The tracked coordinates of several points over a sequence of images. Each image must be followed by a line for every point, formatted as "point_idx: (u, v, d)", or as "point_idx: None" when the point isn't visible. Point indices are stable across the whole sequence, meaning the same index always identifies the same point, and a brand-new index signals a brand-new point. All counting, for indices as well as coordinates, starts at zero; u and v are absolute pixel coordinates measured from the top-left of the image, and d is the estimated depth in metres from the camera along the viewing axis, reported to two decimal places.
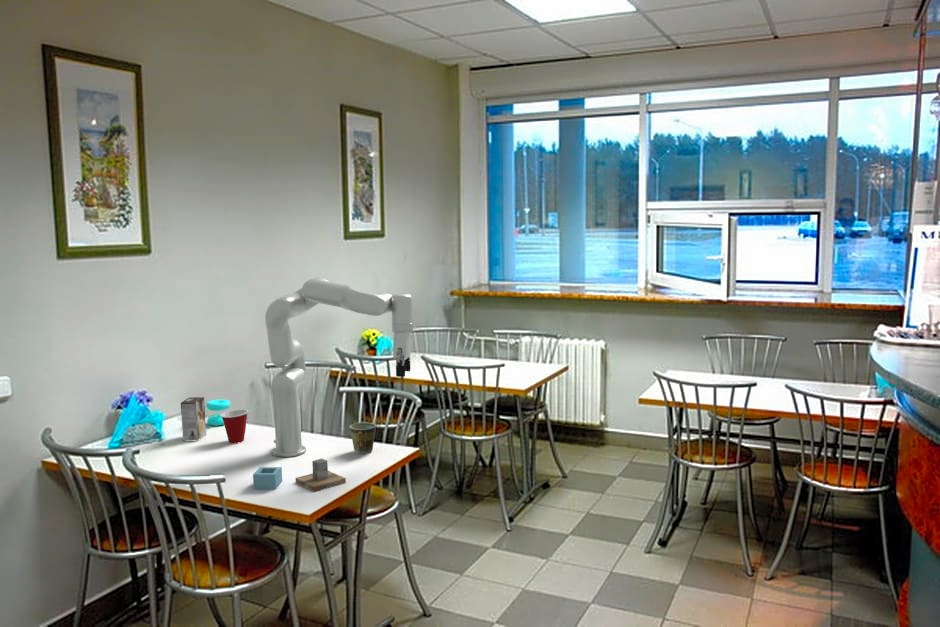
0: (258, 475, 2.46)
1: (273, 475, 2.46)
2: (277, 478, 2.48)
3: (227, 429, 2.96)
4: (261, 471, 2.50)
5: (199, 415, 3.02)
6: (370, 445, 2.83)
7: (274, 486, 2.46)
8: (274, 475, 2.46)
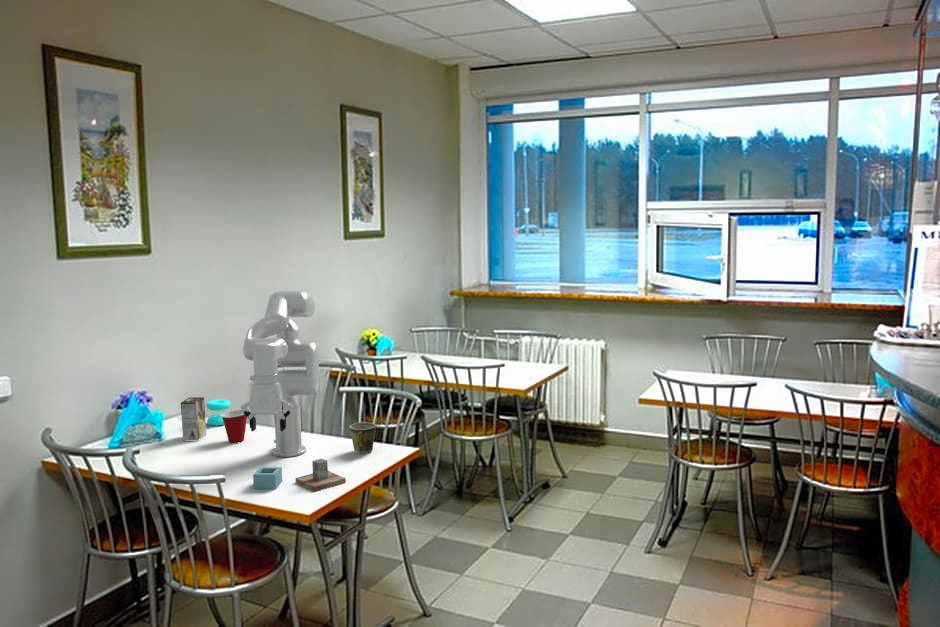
0: (258, 475, 2.46)
1: (273, 475, 2.46)
2: (277, 478, 2.48)
3: (227, 429, 2.96)
4: (261, 471, 2.50)
5: (199, 415, 3.02)
6: (370, 445, 2.83)
7: (274, 486, 2.46)
8: (274, 475, 2.46)
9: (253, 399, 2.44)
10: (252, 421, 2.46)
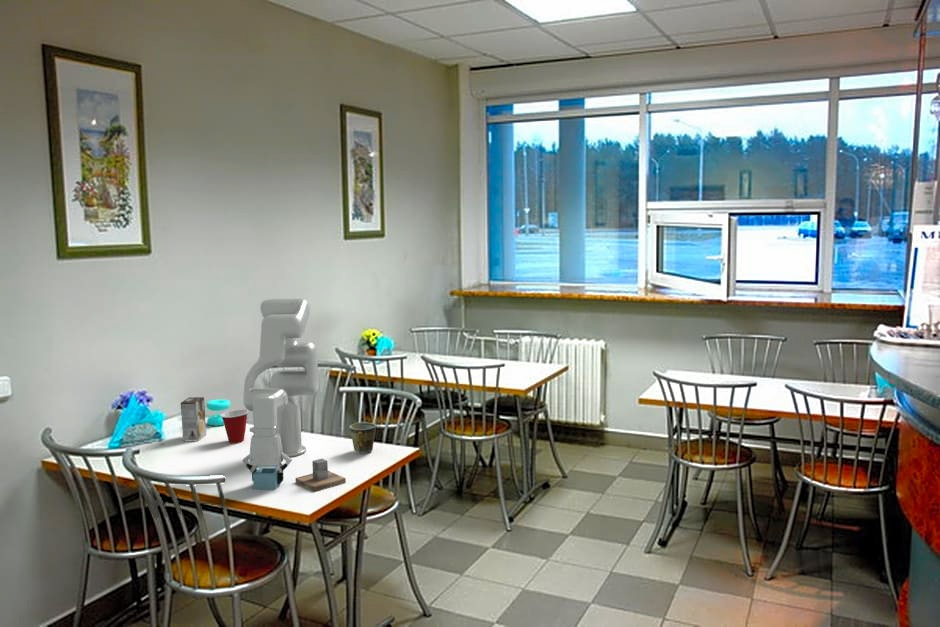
0: (258, 475, 2.46)
1: (273, 475, 2.45)
2: None
3: (227, 429, 2.96)
4: (261, 471, 2.50)
5: (199, 414, 3.02)
6: (370, 445, 2.83)
7: (274, 486, 2.46)
8: (274, 475, 2.46)
9: (253, 451, 2.46)
10: None
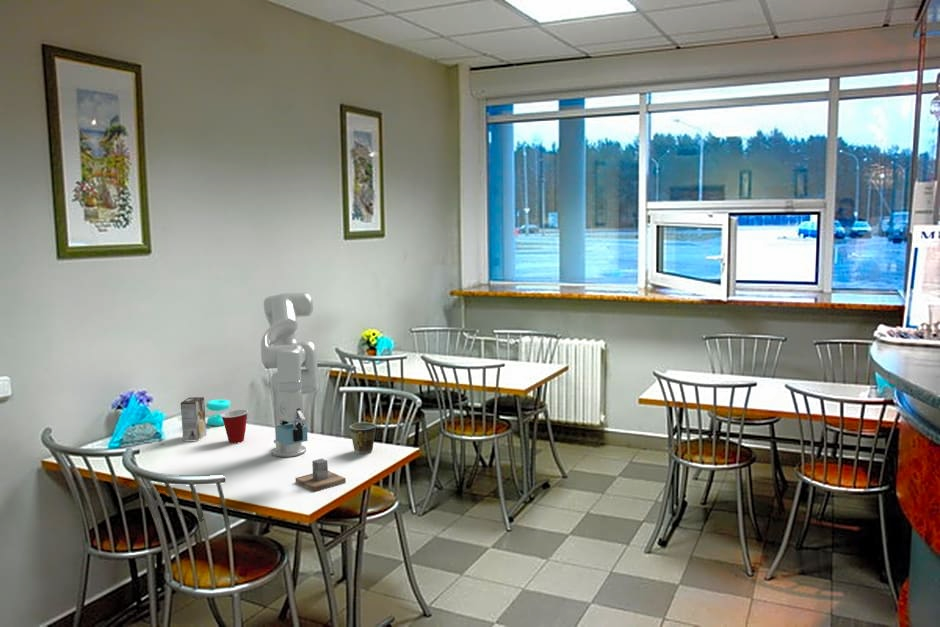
0: (278, 428, 2.47)
1: (286, 431, 2.44)
2: None
3: (227, 429, 2.96)
4: (290, 425, 2.51)
5: (199, 415, 3.02)
6: (370, 445, 2.83)
7: (286, 442, 2.44)
8: (286, 431, 2.44)
9: (277, 403, 2.48)
10: None
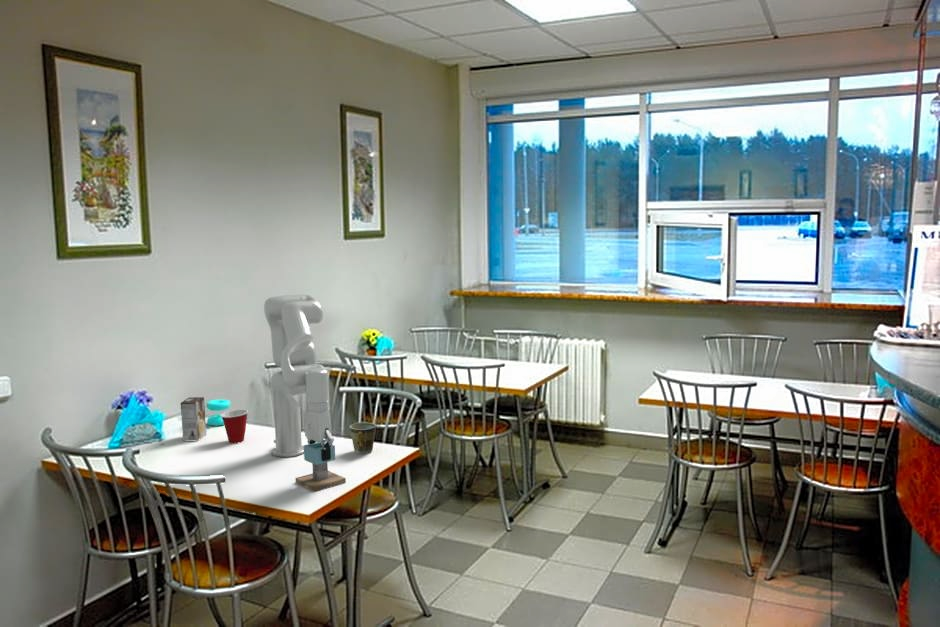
0: (306, 447, 2.49)
1: (314, 450, 2.46)
2: (321, 455, 2.47)
3: (227, 429, 2.96)
4: (318, 445, 2.53)
5: (199, 415, 3.02)
6: (370, 445, 2.83)
7: (315, 461, 2.46)
8: (315, 451, 2.46)
9: (305, 423, 2.50)
10: None
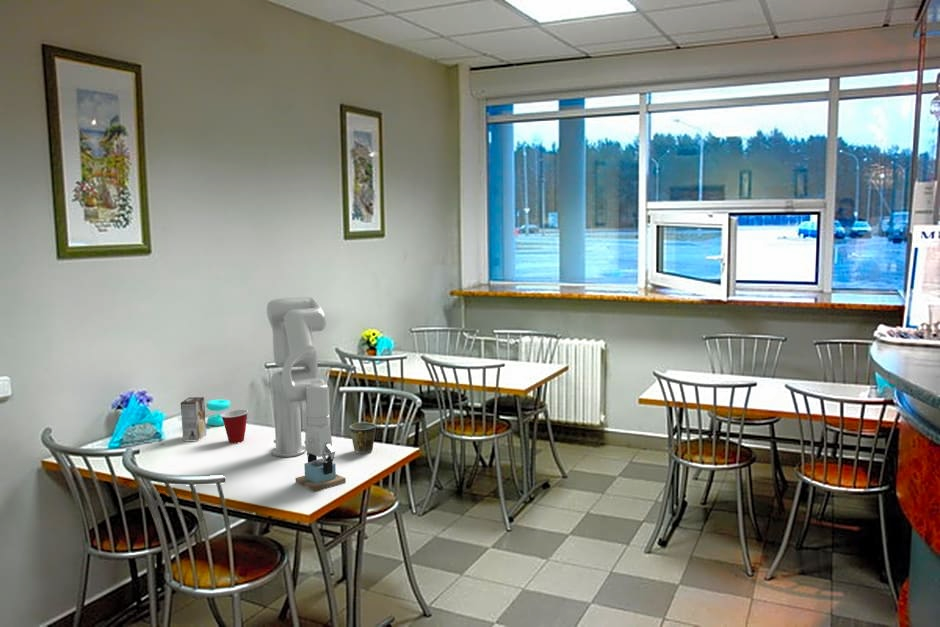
0: (307, 465, 2.50)
1: (315, 469, 2.47)
2: (322, 473, 2.48)
3: (227, 429, 2.96)
4: None
5: (199, 414, 3.02)
6: (370, 445, 2.83)
7: (315, 480, 2.47)
8: (315, 469, 2.46)
9: (306, 437, 2.51)
10: (309, 458, 2.54)
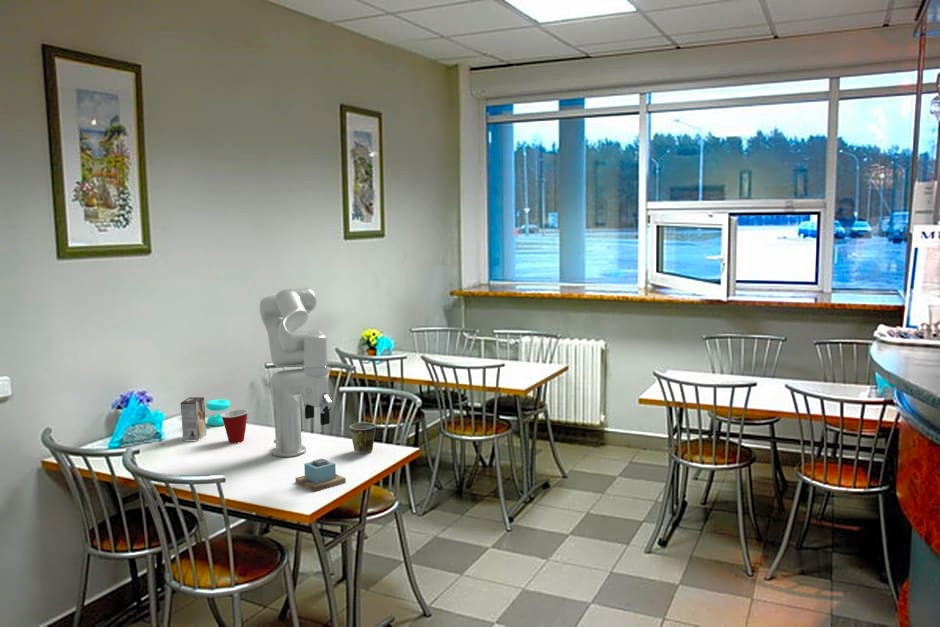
0: (307, 465, 2.50)
1: (315, 469, 2.47)
2: (322, 473, 2.48)
3: (227, 429, 2.96)
4: None
5: (199, 414, 3.02)
6: (370, 445, 2.83)
7: (315, 480, 2.47)
8: (315, 469, 2.46)
9: (303, 388, 2.50)
10: (306, 409, 2.53)
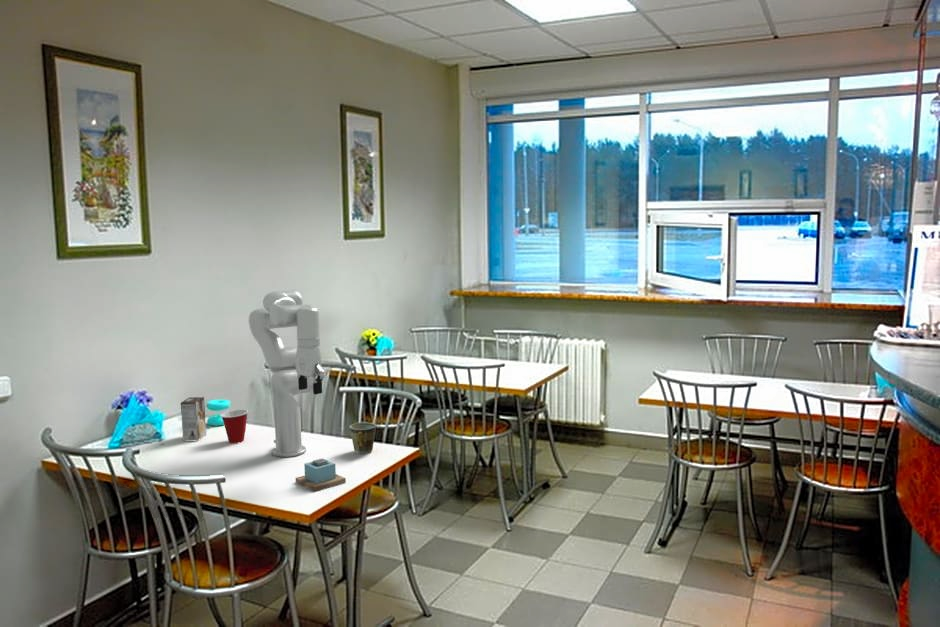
0: (307, 465, 2.50)
1: (315, 469, 2.47)
2: (322, 473, 2.48)
3: (227, 429, 2.96)
4: None
5: (199, 414, 3.02)
6: (370, 445, 2.83)
7: (315, 480, 2.47)
8: (315, 469, 2.46)
9: (297, 359, 2.61)
10: (299, 380, 2.63)
